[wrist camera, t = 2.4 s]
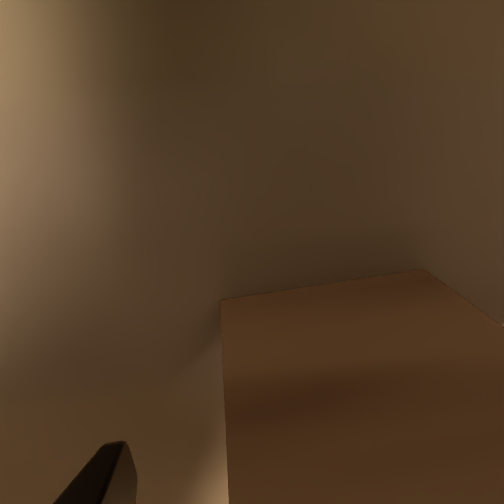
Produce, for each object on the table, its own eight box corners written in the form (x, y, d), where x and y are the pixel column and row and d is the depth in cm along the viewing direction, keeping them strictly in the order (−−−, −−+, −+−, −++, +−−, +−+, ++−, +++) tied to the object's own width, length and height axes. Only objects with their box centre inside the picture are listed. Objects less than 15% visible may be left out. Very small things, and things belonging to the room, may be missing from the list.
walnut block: (416, 425, 10) (682, 829, 4) (246, 455, 10) (293, 924, 4) (422, 268, 8) (854, 582, 3) (219, 299, 8) (238, 711, 3)
